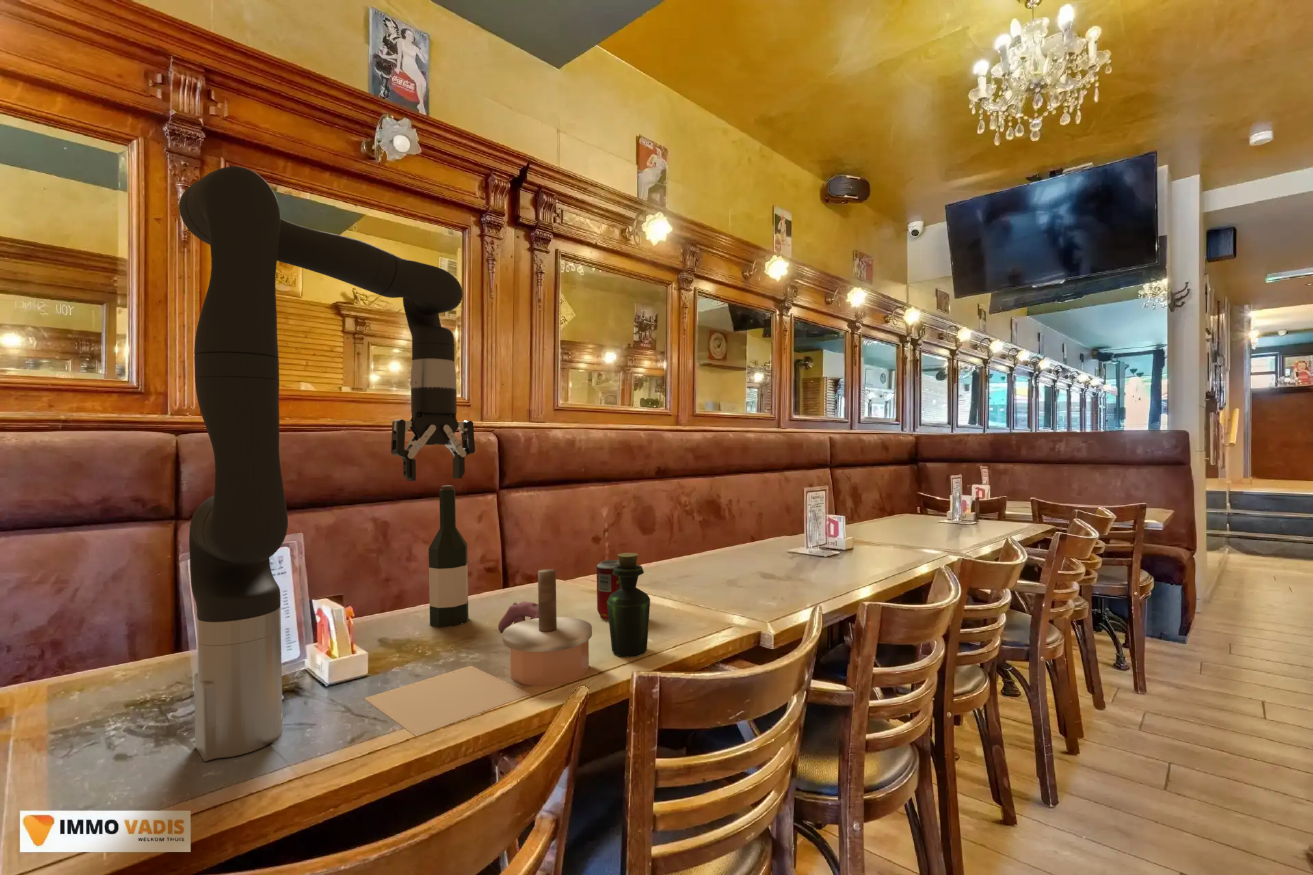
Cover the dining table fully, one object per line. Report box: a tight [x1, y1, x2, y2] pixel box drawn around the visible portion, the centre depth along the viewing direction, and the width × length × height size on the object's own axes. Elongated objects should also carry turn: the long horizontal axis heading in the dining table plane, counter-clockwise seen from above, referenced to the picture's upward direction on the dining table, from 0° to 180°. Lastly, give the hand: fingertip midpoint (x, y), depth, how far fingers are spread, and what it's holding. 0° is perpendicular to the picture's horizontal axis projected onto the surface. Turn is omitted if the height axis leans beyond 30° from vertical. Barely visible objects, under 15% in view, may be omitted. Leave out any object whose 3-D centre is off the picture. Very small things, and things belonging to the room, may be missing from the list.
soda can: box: [595, 559, 621, 621], centre depth 136 cm, size 7×7×12 cm
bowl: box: [508, 639, 590, 687], centre depth 104 cm, size 13×13×6 cm
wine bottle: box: [428, 484, 469, 628], centre depth 134 cm, size 8×8×30 cm
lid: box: [502, 568, 593, 652], centre depth 104 cm, size 15×15×11 cm
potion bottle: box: [607, 552, 651, 658], centre depth 113 cm, size 8×8×18 cm
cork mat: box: [363, 665, 531, 738], centre depth 94 cm, size 18×18×1 cm
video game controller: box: [497, 601, 539, 633], centre depth 127 cm, size 10×5×7 cm, turn 60°
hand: (435, 479), depth 106 cm, fingers open, 8 cm apart
